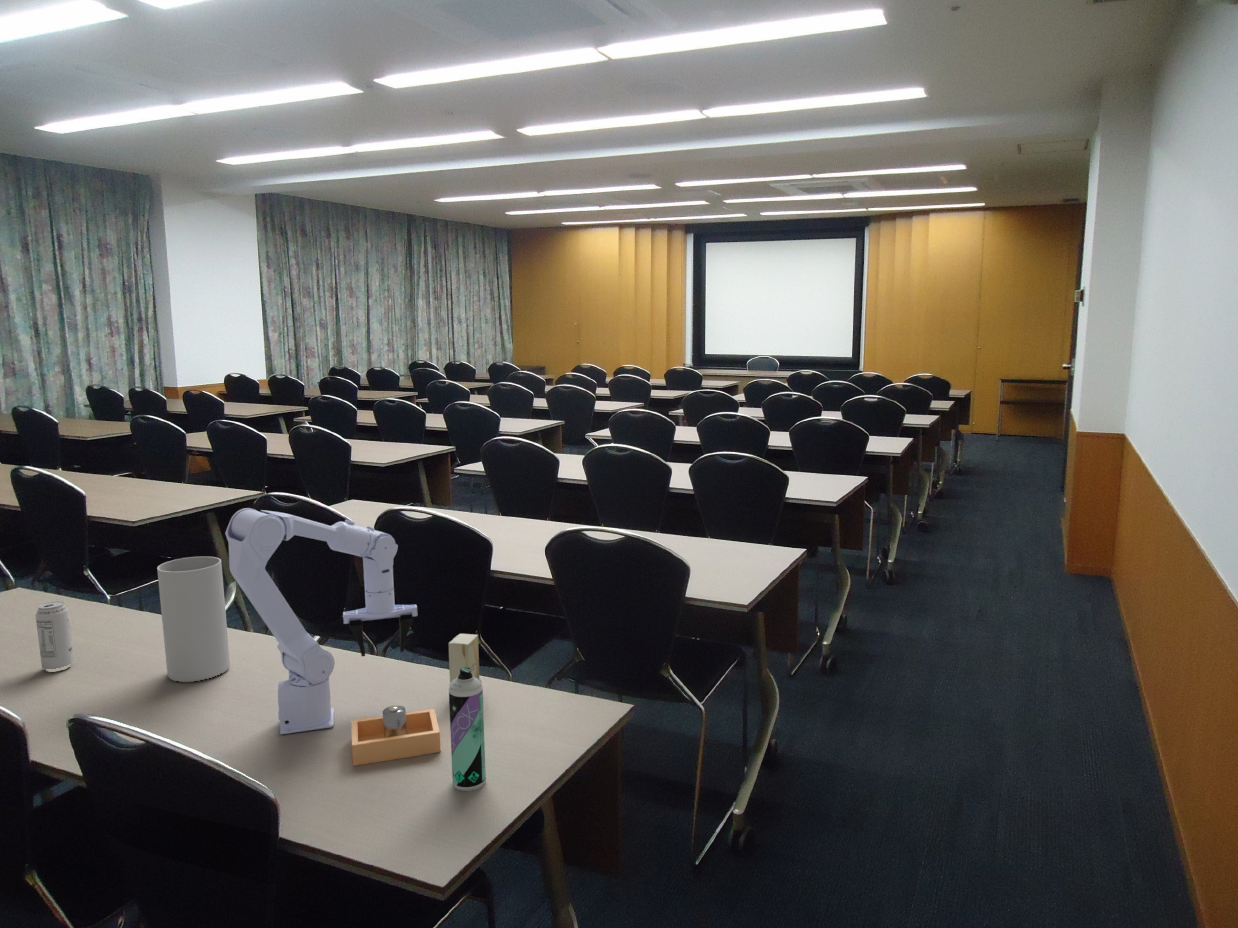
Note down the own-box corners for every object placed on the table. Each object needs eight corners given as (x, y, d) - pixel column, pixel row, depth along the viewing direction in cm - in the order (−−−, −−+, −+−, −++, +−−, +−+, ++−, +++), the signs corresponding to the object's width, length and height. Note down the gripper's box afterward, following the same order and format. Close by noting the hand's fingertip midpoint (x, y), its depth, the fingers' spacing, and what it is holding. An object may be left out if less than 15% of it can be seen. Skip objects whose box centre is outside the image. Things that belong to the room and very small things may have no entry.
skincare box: (469, 701, 170) (467, 644, 168) (449, 700, 171) (447, 643, 169) (480, 688, 176) (479, 633, 174) (461, 687, 177) (459, 632, 175)
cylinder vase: (234, 674, 184) (225, 565, 180) (171, 688, 177) (160, 575, 173) (225, 657, 194) (216, 553, 191) (164, 669, 188) (154, 562, 184)
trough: (353, 765, 145) (351, 745, 144) (352, 739, 154) (351, 720, 154) (440, 751, 149) (439, 732, 149) (435, 727, 159) (434, 708, 158)
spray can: (454, 774, 142) (450, 663, 139) (487, 772, 142) (483, 661, 139) (450, 792, 136) (446, 676, 133) (484, 790, 137) (480, 675, 134)
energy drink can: (79, 666, 190) (72, 603, 187) (50, 675, 185) (42, 610, 182) (66, 661, 193) (59, 598, 191) (37, 669, 188) (29, 606, 186)
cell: (382, 746, 150) (379, 712, 149) (387, 735, 154) (385, 702, 153) (404, 746, 150) (402, 712, 149) (409, 735, 154) (407, 702, 153)
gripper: (414, 579, 176) (417, 641, 178) (342, 586, 171) (345, 649, 173) (416, 589, 169) (419, 653, 171) (341, 596, 165) (345, 662, 167)
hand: (382, 652), depth 172 cm, fingers open, 7 cm apart
